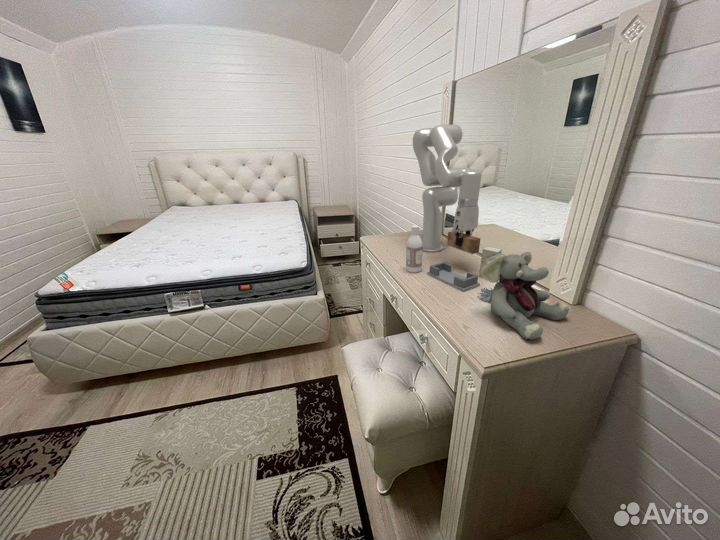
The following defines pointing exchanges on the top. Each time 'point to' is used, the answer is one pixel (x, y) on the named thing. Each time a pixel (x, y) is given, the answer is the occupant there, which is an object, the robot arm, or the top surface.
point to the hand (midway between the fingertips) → (462, 244)
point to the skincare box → (488, 256)
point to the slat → (465, 242)
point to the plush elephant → (519, 293)
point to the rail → (453, 277)
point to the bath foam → (414, 251)
